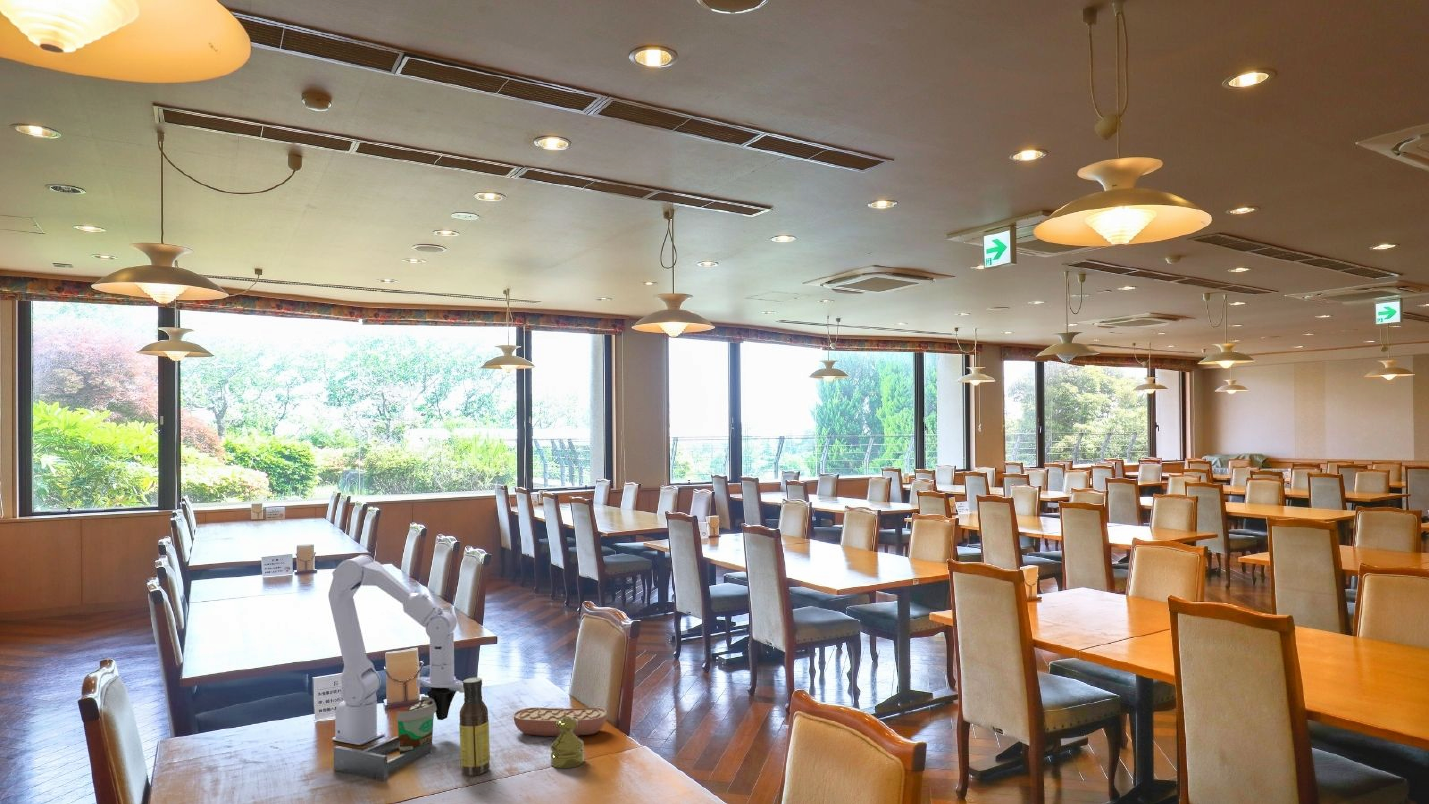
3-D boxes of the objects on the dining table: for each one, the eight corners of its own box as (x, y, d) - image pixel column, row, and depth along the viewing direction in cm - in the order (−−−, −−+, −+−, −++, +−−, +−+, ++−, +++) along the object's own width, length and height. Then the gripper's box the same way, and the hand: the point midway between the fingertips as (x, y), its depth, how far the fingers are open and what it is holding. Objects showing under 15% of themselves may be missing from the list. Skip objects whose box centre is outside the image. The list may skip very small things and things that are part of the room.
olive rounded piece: (589, 758, 193) (589, 713, 193) (574, 771, 186) (573, 724, 186) (561, 755, 195) (560, 711, 196) (544, 767, 188) (543, 721, 189)
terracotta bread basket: (609, 727, 214) (609, 707, 214) (602, 741, 204) (602, 720, 204) (519, 727, 215) (519, 707, 215) (508, 741, 205) (508, 720, 205)
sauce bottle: (490, 764, 190) (490, 674, 191) (489, 775, 184) (488, 682, 185) (460, 767, 189) (460, 676, 190) (458, 778, 183) (458, 684, 184)
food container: (421, 757, 195) (420, 713, 195) (396, 756, 196) (395, 712, 196) (446, 737, 207) (446, 696, 208) (423, 737, 208) (422, 695, 209)
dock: (333, 770, 188) (333, 747, 188) (389, 745, 203) (389, 724, 203) (383, 781, 182) (383, 757, 182) (437, 755, 196) (437, 733, 197)
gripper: (476, 661, 209) (476, 717, 209) (431, 655, 215) (431, 710, 215) (456, 668, 203) (456, 726, 202) (410, 662, 209) (410, 718, 209)
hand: (442, 718), depth 208 cm, fingers closed
